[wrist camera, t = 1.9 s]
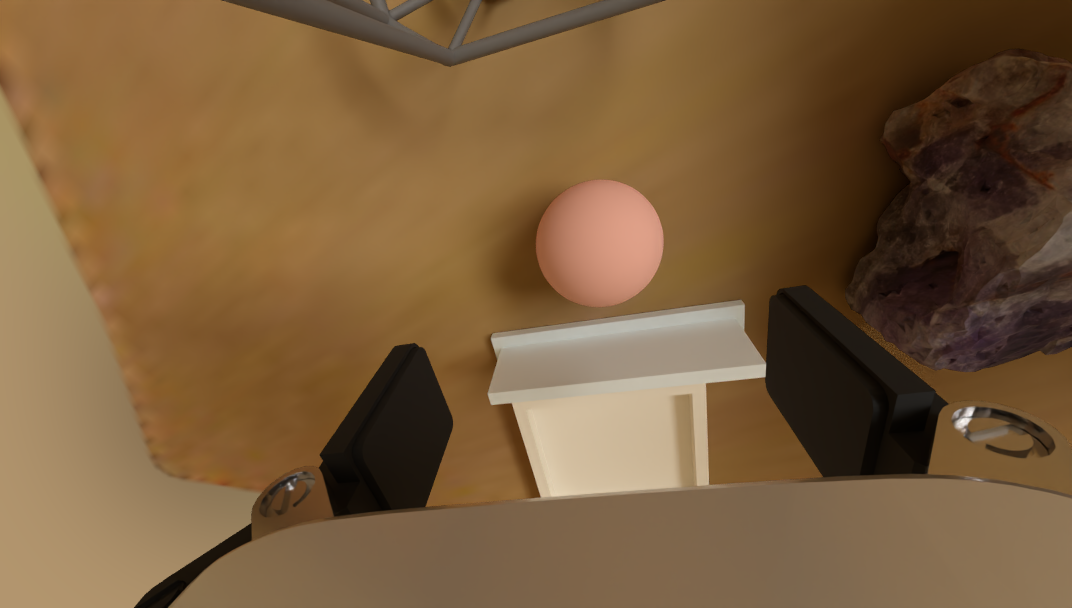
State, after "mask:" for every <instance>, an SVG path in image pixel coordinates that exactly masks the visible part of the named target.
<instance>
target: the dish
mask: <svg viewBox="0 0 1072 608" xmlns="http://www.w3.org/2000/svg"><path fill="white" fill-rule="evenodd" d="M512 406H513V409H514V412H515V415H516V419H517V422H518V425H519V428H520V431H521V435H522V438H523V441H524V444H525V448H526V451H527V454H528V457H529V460H530V464H531V467H532V470H533V473H534V477H535V480H536V483H537V486H538V489H539V493H540V496H541V498H542V497H555V496H568V495H581V494H594V493H607V492H620V491H634V490H647V489H660V488H674V487H689V486H703V485H709V467H708V436H707V404H706V383H703V384H693V385H683V386H674V387H664V388H654V389H644V390H634V391H625V392H615V393H605V394H595V395H585V396H575V397H566V398H556V399H546V400H536V401H526V402H516V403H512Z"/></svg>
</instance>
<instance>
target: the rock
mask: <svg viewBox="0 0 1072 608" xmlns="http://www.w3.org/2000/svg"><path fill="white" fill-rule="evenodd" d="M880 141H881V142H882V143H883V144H884V145H885V147H886V149H887V151H888V154H889V156H890V158H891V159H893V160H894V161H895V162H896V163H898V164H899V165H900V166H901V168H900V169H899V170H900V171H901V172H902V173H903V174H904V175H905V176H906V177H907V178H908V179H909V180H910V182H911V183H910V184H909V185H907V186H906V187H905V188H904V189H903V190H902V191H900V192H899V193H898V194H897V195H896V197H895V198H894V200H893V201H892V202H891V204H890V205H889V206H888V208H887V209H886V210H885V211H884V213H883V214H882V215H881V217H880V218H879V221H878V224H877V233H878V242H877V245H876V248H875V249H874V250H873V251H872V252H870V253H869V254H867V255H866V256H864V257H863V258H861V259H860V260H859V262H858V265H857V267H856V270H855V273H854V277H853V280H852V282H851V283H850V284H849V286H848V287H847V288H846V289H845V296H846V300H847V302H848V304H849V305H850V308H851V309H852V310H854V311H856V312H857V313H859V314H861V315H862V316H863V318H864V320H865V321H866V323H868V324H869V325H871V326H872V327H873V328H875V329H876V330H877V331H878V332H881V333H882V335H883V337H884V339H885V341H888V342H891V343H894V344H895V345H896V347H897V348H898V349H899V350H901V351H902V352H904V353H906V354H907V355H909V356H910V357H912V358H913V359H915V360H916V361H918V362H919V363H920V364H922V365H925V366H927V367H929V368H931V369H934V370H940V369H942V368H945V369H950V370H955V371H962V372H976V371H978V370H981V369H983V368H989V367H993V366H997V365H1000V364H1003V363H1006V362H1009V361H1012V360H1015V359H1018V358H1022V357H1025V356H1027V355H1029V354H1032V353H1034V352H1037V351H1042V352H1043V353H1044V354H1045V355H1049V354H1057V353H1059V352H1061V351H1063V350H1066V349H1068V348H1070V347H1072V63H1070V62H1068V61H1067V60H1065V59H1062V58H1055V57H1049V56H1046V55H1044V54H1042V53H1039V52H1034V51H1029V50H1023V49H1009V50H1006V51H1002V52H999V53H997V54H996V55H994V56H993V57H991V58H990V59H988V60H986V61H983V62H981V63H978V64H976V65H973V66H971V67H969V68H967V69H965V70H964V71H962V72H960V73H958V74H956V75H955V76H953V77H952V78H950V79H949V80H948V81H947V82H946V83H945V84H944V85H943V86H941V87H940V88H938V89H937V90H935V91H934V92H933V93H932V94H931V95H930V96H929V97H927V98H925V99H924V100H922V101H919V102H917V103H914V104H912V105H909V106H907V107H904V108H902V109H899V110H895V111H893V112H892V114H891V116H890V117H889V119H888V120H887V122H886V124H885V130H884V133H883V135H882V137H881V138H880Z"/></svg>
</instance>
